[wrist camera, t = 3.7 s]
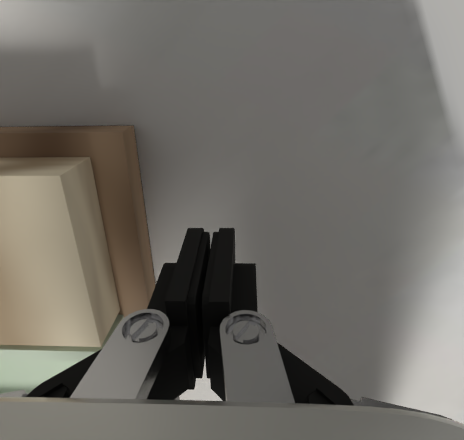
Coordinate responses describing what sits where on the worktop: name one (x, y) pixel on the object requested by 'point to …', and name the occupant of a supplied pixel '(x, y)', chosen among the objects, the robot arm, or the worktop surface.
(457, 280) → the worktop surface
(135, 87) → the worktop surface
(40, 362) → the tray
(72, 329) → the beige cardboard box
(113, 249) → the board
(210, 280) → the robot arm
